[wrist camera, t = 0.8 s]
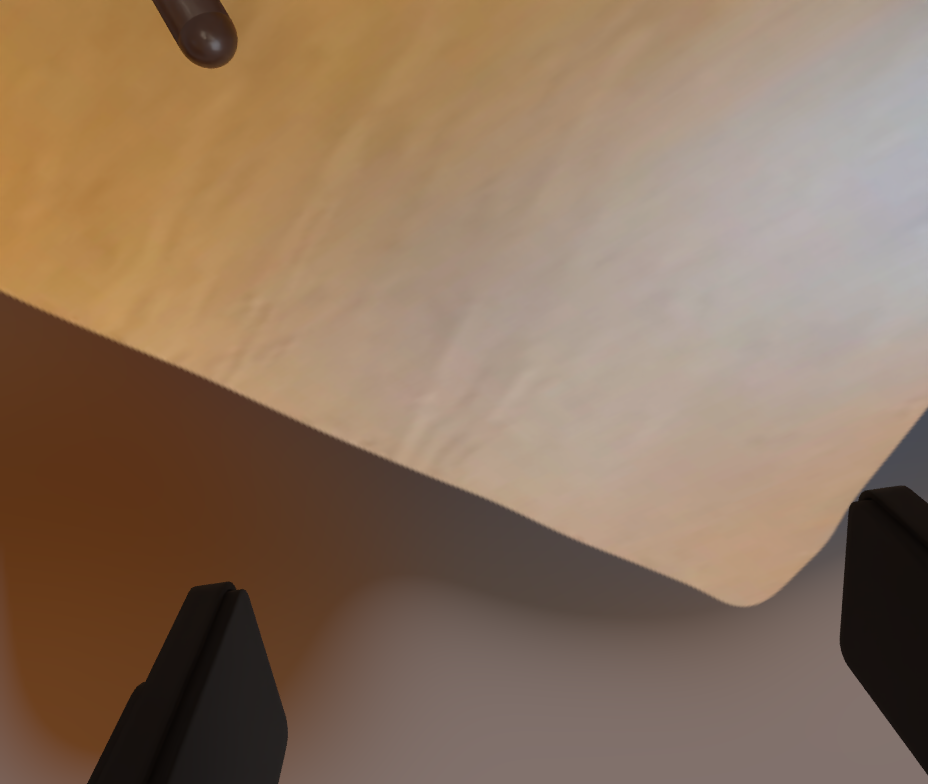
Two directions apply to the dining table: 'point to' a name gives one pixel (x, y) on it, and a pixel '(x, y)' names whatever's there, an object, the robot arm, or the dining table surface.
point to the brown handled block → (200, 30)
